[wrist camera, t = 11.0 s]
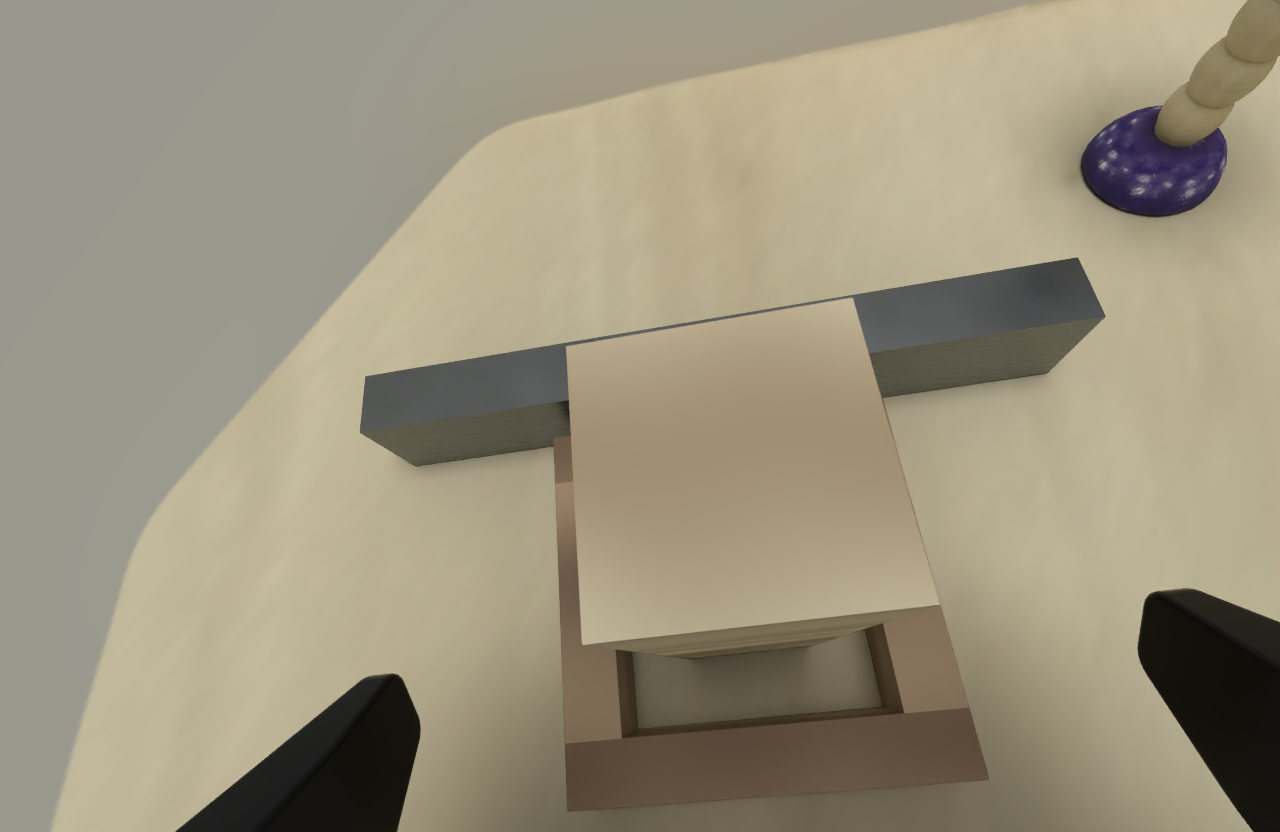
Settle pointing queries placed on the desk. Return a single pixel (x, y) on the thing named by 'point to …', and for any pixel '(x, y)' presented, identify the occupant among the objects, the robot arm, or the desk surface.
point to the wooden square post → (738, 487)
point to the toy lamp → (1185, 124)
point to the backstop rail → (890, 319)
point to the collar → (761, 747)
